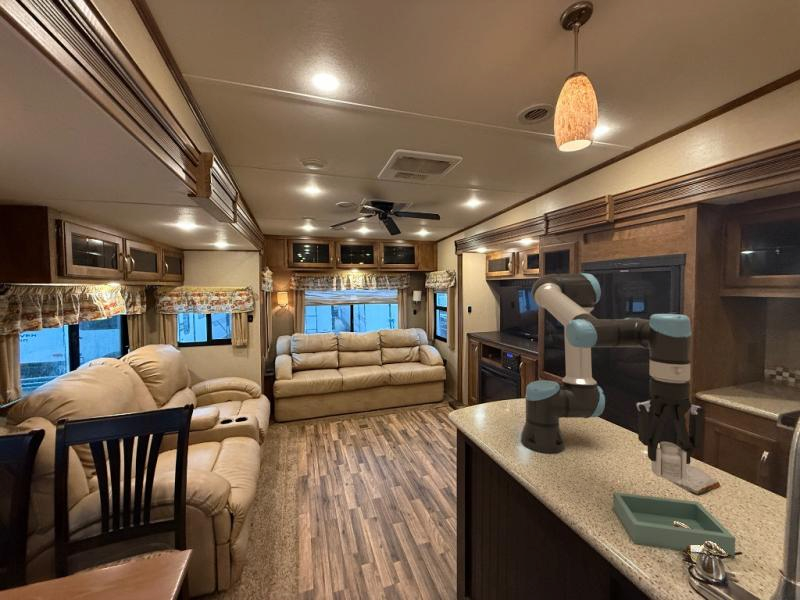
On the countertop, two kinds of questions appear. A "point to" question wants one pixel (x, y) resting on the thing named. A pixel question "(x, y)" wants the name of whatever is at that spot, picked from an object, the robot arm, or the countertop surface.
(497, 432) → the countertop surface
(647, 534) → the tray
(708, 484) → the stone
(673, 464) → the pill bottle
